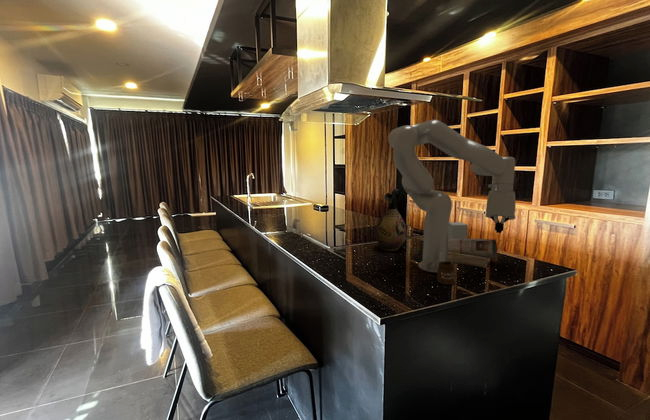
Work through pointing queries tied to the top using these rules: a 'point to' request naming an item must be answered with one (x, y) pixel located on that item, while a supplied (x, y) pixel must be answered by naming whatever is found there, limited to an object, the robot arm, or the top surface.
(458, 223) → the supplement box
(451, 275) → the utensil holder
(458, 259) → the u-rest
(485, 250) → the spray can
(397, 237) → the ceramic jug
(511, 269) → the top surface
